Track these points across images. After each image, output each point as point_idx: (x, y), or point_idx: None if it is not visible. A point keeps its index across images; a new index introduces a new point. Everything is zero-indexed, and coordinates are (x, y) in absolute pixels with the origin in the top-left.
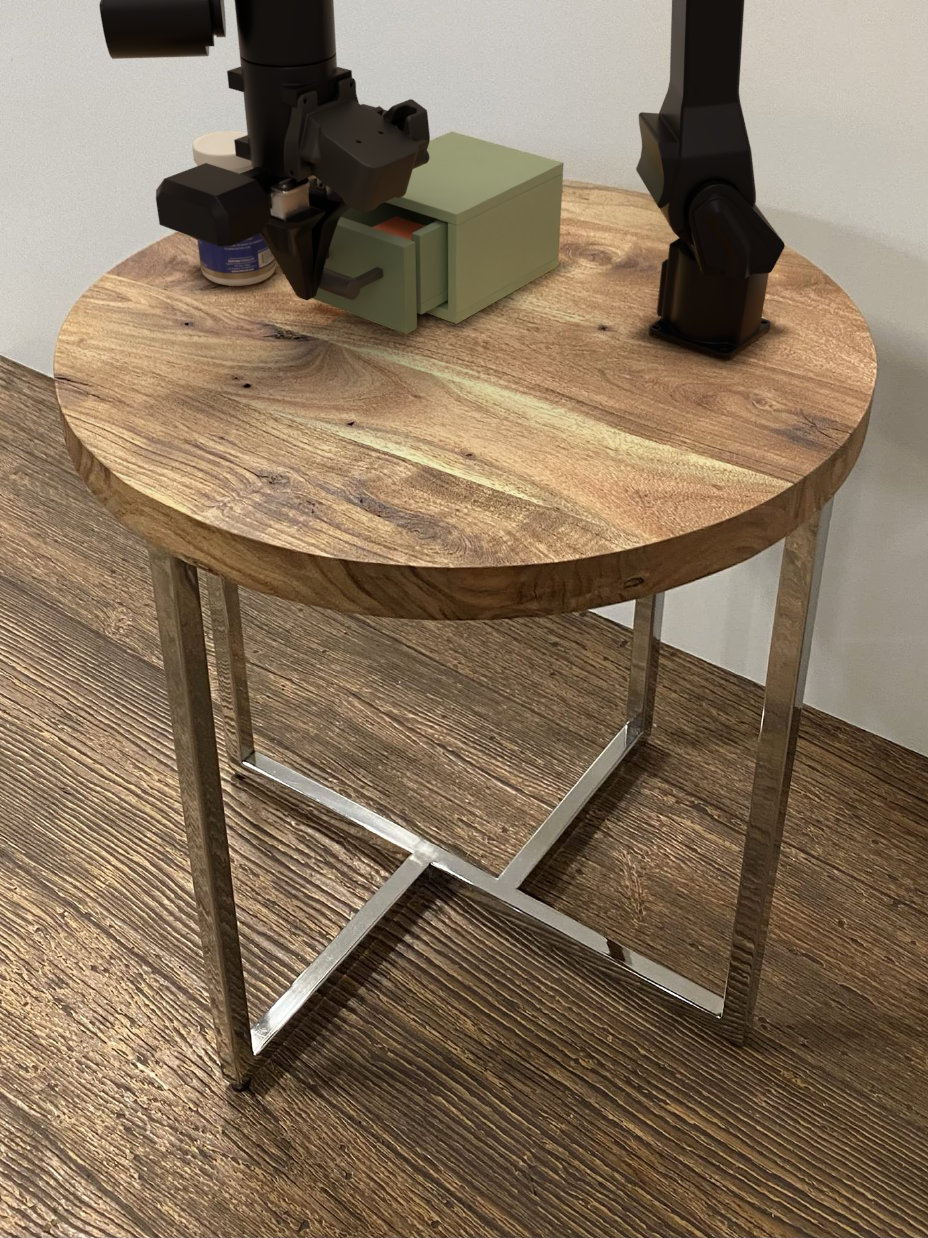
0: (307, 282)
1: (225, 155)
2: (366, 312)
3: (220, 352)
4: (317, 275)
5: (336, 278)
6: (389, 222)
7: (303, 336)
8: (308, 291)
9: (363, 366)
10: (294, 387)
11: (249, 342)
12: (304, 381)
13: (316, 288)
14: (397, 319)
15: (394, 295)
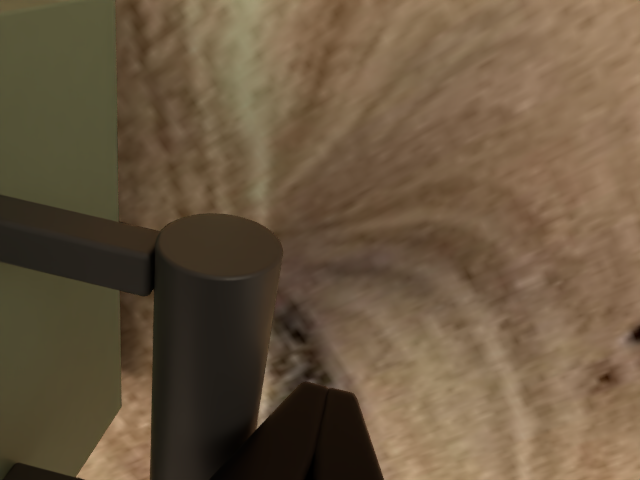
0: (367, 465)
1: None
2: (104, 206)
3: (471, 464)
4: (283, 454)
5: (228, 364)
6: None
7: (278, 327)
8: (353, 422)
9: (357, 59)
10: (607, 203)
11: (385, 428)
12: (551, 193)
13: (297, 404)
14: (88, 50)
15: (20, 89)
